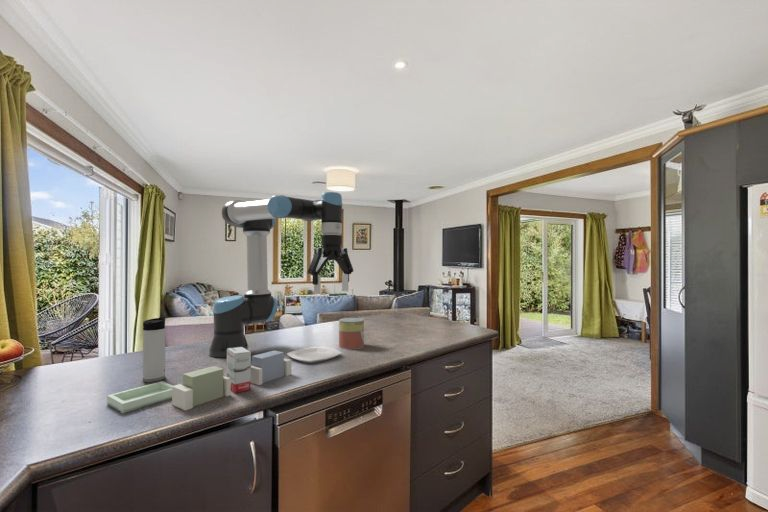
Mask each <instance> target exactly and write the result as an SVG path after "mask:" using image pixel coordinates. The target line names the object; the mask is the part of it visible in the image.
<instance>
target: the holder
mask: <svg viewBox="0 0 768 512" xmlns="http://www.w3.org/2000/svg"><path fill="white" fill-rule="evenodd" d="M284 376H286V377H288V376H292V359H288V358H285V357H284ZM250 384H253V385H256V386H261V385H263V383H262V368H259V367H255V366H252V365H251V382H250ZM231 392H232V390H231V382H230V378H229V377H227V375H223V397H224V396H225V397H230V396H231ZM171 404H172V406H174V407H176V408H179V409H181V410H183V411H184V412H186V411H188V410H191V409H193V408H194V406H193V389H191V388H188V387H186V386H183V384H181V383H178V384H175V385H173V386H172V399H171Z"/></svg>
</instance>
